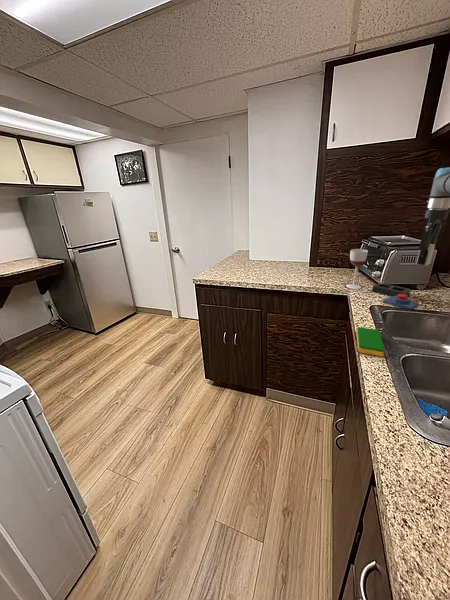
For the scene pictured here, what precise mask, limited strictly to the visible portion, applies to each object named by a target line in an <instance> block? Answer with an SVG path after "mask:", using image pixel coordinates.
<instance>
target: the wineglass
mask: <svg viewBox="0 0 450 600" xmlns="http://www.w3.org/2000/svg"><path fill="white" fill-rule="evenodd" d="M368 253H369V250H367V249H363V248H351V249H350V251H349V261H350V263H351V265H352V266H354V267H355V268H354V276H353V282H352V283H351V284H350V283H349V284H346V285H345V287H346V288H348V289H351V290H353V289H354V290H359V289H361V288H362V286H360V285H358V284H355V283H356V277H357V272H358V267H361V266H363V265H364V264H365V263H366V260H367V257H368Z"/></svg>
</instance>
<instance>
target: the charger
mask: <svg viewBox="0 0 450 600" xmlns="http://www.w3.org/2000/svg"><path fill="white" fill-rule="evenodd" d="M434 247H436V246H435V244H430V245H429V248H428V250H429V251H428V254H427V258H426V261H425V265H423V266H424V267H426V266H429V265H430V264H431V261H432V257H433V254H434V251H435V248H434ZM419 254H420V250H418V254H417V258H416V262H415V265H419V266H421V265H420V264H417V262H418V258H419Z"/></svg>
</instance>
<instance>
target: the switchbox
mask: <svg viewBox="0 0 450 600" xmlns="http://www.w3.org/2000/svg"><path fill="white" fill-rule="evenodd" d="M397 296H398V295H397ZM397 296H389V297H387V298H386V299H384V300H383V302H382V303H383V304H386V305H390V306H394V307H397V308H401V309H405V310H408V311H412V310H413V309H415V308H416V307H417V306H419V302H417V301H412V300H411V298H410V297H408V296H407V299H406V300H401V299H398V298H397Z"/></svg>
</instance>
